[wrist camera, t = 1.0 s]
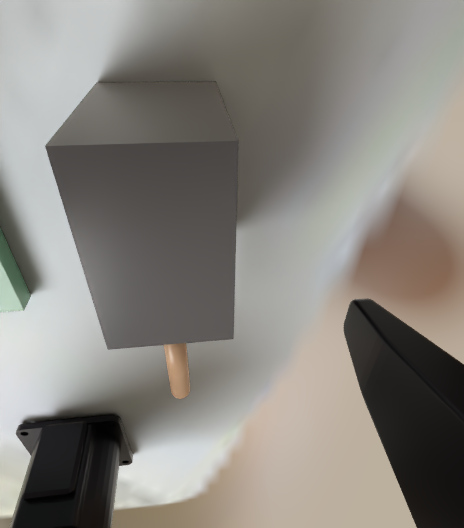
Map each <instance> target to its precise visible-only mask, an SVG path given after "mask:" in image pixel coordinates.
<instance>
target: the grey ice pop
mask: <svg viewBox="0 0 464 528" xmlns="http://www.w3.org/2000/svg"><path fill="white" fill-rule="evenodd" d="M45 147H46V150H47V153H48V157H49V160H50V163H51V166H52V170H53V173H54V176H55V179H56V183H57V186H58V189H59V192H60V196H61V199H62V202H63V205H64V209H65V212H66V215H67V218H68V222H69V225H70V228H71V231H72V235H73V238H74V241H75V244H76V248H77V251H78V254H79V257H80V261H81V264H82V267H83V270H84V274H85V277H86V280H87V283H88V287H89V290H90V293H91V296H92V300H93V303H94V306H95V309H96V313H97V316H98V319H99V322H100V326H101V329H102V332H103V335H104V339H105V342H106V345H107V348H108V349H120V348H132V347H144V346H156V345H164V350H165V356H166V362H167V369H168V375H169V381H170V388H171V392H172V395H173V396H174V397H176V398H178V399H183V398H185V397H186V396H188V394H189V392H190V378H189V368H188V358H187V347H186V343H192V342H204V341H216V340H228V339H233V335H234V294H235V253H236V212H237V171H238V139H237V136H236V134H235V131H234V128H233V126H232V123H231V121H230V118H229V115H228V113H227V110H226V107H225V105H224V102H223V100H222V97H221V94H220V92H219V89H218V87H217V84H216V81H196V82H99V83H96V84H95V85H94V86H93V88H92V89H91V90H90V91H89V93H88V94H87V95H86V96H85V97H84V99H83V100H82V101H81V102H80V104H79V105H78V106H77V107H76V109H75V110H74V111H73V112H72V114H71V115H70V116H69V117H68V119H67V120H66V121H65V122H64V123H63V125H62V126H61V127H60V128H59V130H58V131H57V132H56V133H55V135H54V136H53V137H52V138H51V140H50V141H49V142H48V143H47V145H46V146H45Z"/></svg>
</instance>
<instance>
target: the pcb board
mask: <svg viewBox="0 0 464 528" xmlns="http://www.w3.org/2000/svg"><path fill="white" fill-rule="evenodd" d="M30 297H31V295H30V292H29V290H28V288H27V286H26V284H25V281H24V279H23V277H22V275H21V272H20V270H19V268H18V266H17V263H16V261H15V259H14V257H13V255H12V252H11V250H10V248H9V246H8V243H7V241H6V239H5V237H4V234H3V232H2V230H1V228H0V312H10V311H24V309H25V307H26V305H27V303H28V301H29V299H30Z"/></svg>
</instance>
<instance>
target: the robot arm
mask: <svg viewBox="0 0 464 528" xmlns="http://www.w3.org/2000/svg"><path fill="white" fill-rule="evenodd" d="M344 334H345V338H346V341H347V345H348V348H349V352H350V355H351V358H352V362H353V365H354V369H355V372H356V376H357V379H358V382H359V386H360V389H361V392H362V395H363V398H364V400H365V403H366V405H367V408H368V410H369V413H370V415H371V418H372V420H373V422H374V425H375V427H376V430H377V432H378V434H379V437H380V439H381V442H382V444H383V446H384V449H385V452H386V454H387V456H388V459H389V461H390V464H391V466H392V468H393V471H394V473H395V476H396V478H397V481H398V483H399V485H400V488H401V490H402V493H403V495H404V497H405V500H406V502H407V505H408V507H409V510H410V512H411V514H412V517H413V519H414V522H415V524H416V527H417V528H464V364H462V363H461V362H460V361H458V360H457V359H455V358H454V357H452V356H451V355H450V354H448V353H447V352H445V351H444V350H442V349H441V348H440V347H438V346H437V345H435V344H434V343H433V342H431V341H429V340H428V339H427V338H425V337H424V336H423V335H421V334H419V333H418V332H417V331H415V330H414V329H413V328H411V327H410V326H408V325H407V324H405V323H404V322H403V321H401V320H400V319H398V318H397V317H396V316H394V315H393V314H391V313H390V312H388V311H387V310H386V309H384V308H383V307H381V306H380V305H379V304H377V303H376V302H374V301H373V300H371V299H355V300H353V301H351V303H350V305H349V308H348V312H347V315H346V319H345V322H344ZM16 435H17V436H18V438H19V439H20V441H21V442H22V443H23V445H24V446H25V448H26V449H27V450H28V452H29V453H30V455H31V459H30V462H29V466H28V469H27V472H26V475H25V479H24V482H23V485H22V488H21V492H20V495H19V498H18V501H17V505H16V508H15V511H14V514H13V518H12V521H11V524H10V527H9V528H111V527H112V518H113V510H114V502H115V494H116V485H117V477H118V469H119V466H122V465H129V464H131V463H132V459H133V455H132V452H131V449H130V446H129V443H128V440H127V437H126V434H125V431H124V428H123V425H122V422H121V419H120V417H119V416H117V415H106V416H96V417H86V418H76V419H66V420H57V421H47V422H37V423H27V424H21V425H19V426H18V428H17V431H16Z"/></svg>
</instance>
